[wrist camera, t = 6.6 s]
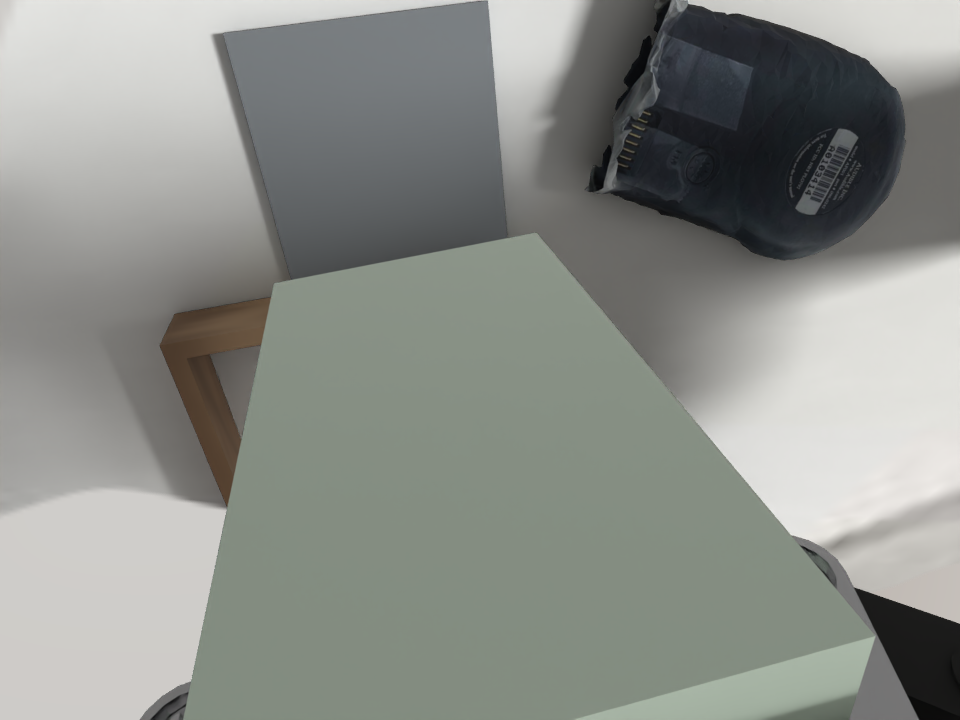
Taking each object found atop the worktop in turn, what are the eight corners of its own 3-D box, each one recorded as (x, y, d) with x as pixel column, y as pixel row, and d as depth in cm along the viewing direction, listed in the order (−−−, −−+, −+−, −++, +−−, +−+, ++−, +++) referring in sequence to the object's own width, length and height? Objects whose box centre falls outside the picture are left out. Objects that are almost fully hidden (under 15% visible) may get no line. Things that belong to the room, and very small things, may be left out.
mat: (485, 0, 25) (487, 0, 25) (506, 242, 30) (508, 245, 30) (224, 32, 24) (222, 33, 23) (292, 278, 29) (291, 282, 29)
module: (536, 232, 12) (943, 717, 4) (558, 499, 16) (796, 1039, 8) (274, 283, 12) (135, 954, 4) (358, 548, 15) (388, 1181, 7)
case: (495, 257, 30) (601, 428, 18) (516, 487, 38) (602, 712, 26) (149, 318, 28) (20, 552, 17) (244, 547, 36) (202, 820, 24)
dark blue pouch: (562, 194, 31) (821, 272, 34) (592, 207, 26) (894, 298, 29) (628, -12, 29) (905, 92, 31) (677, -42, 23) (1003, 85, 26)
